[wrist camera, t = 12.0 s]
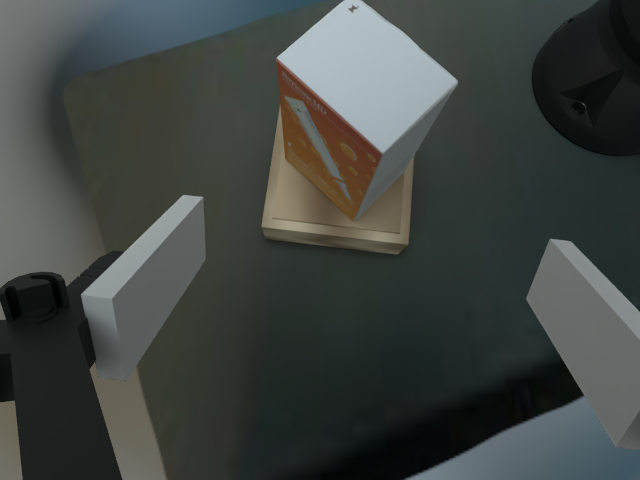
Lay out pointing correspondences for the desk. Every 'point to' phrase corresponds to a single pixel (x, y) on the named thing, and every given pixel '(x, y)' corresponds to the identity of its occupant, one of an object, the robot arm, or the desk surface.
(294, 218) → the oak plinth
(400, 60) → the small box
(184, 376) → the desk surface
